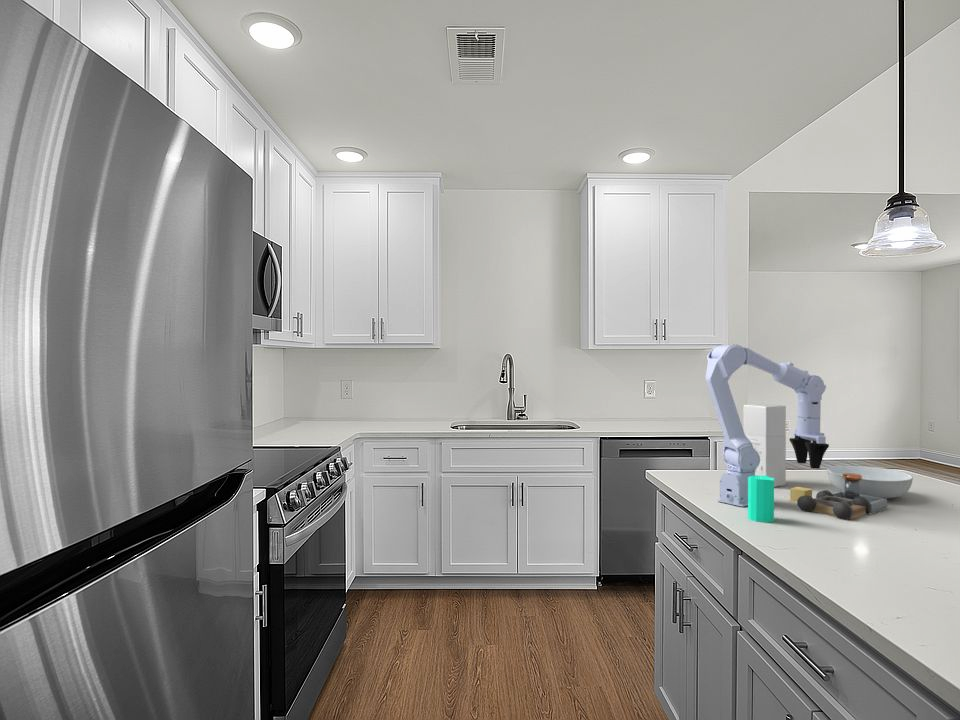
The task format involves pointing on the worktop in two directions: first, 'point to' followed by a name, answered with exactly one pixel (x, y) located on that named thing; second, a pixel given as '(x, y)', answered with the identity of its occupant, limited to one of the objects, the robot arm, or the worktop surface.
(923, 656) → the worktop surface
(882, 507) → the tray
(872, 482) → the serving bowl
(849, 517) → the trolley
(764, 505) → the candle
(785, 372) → the robot arm
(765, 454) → the tall white carton
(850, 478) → the pin
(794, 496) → the yellow cube
